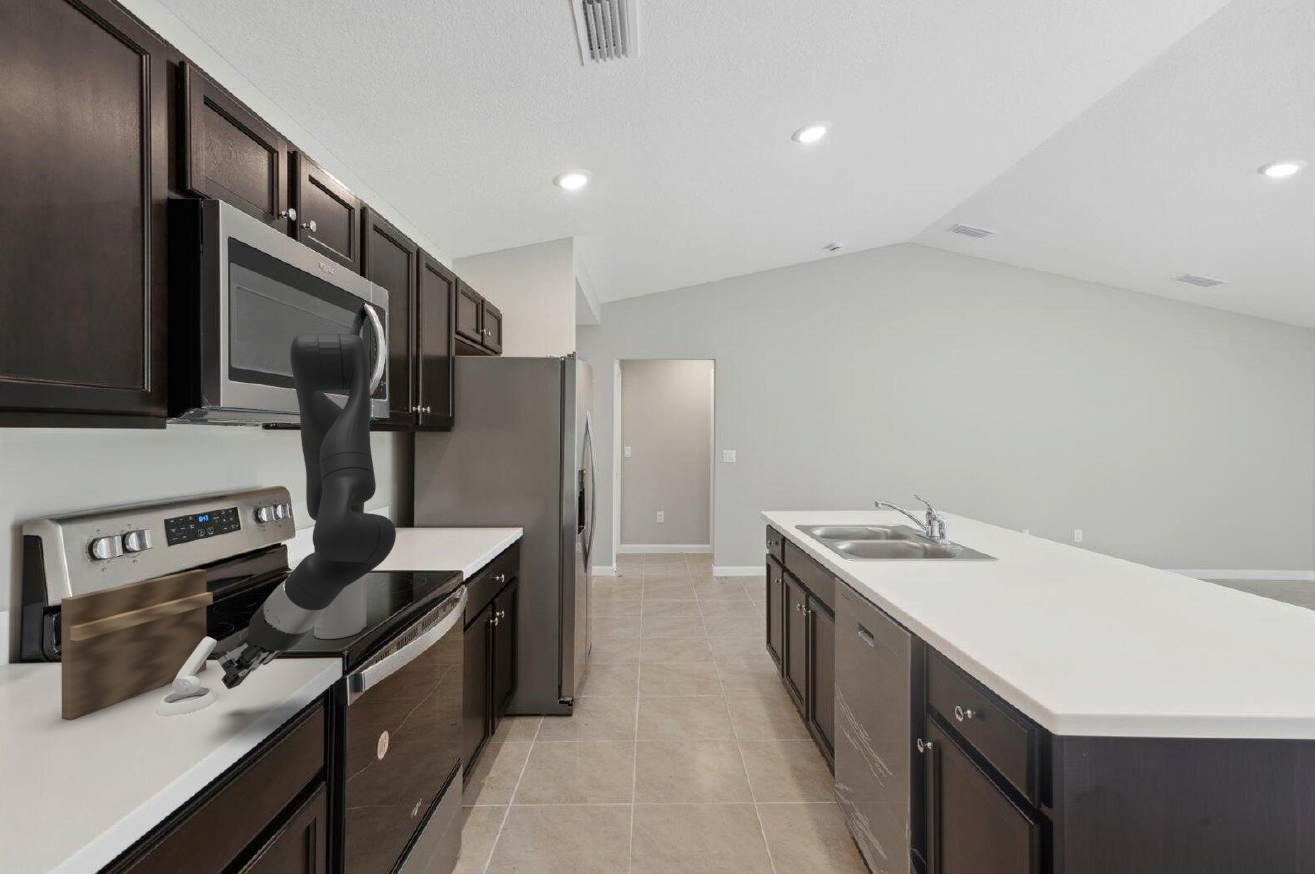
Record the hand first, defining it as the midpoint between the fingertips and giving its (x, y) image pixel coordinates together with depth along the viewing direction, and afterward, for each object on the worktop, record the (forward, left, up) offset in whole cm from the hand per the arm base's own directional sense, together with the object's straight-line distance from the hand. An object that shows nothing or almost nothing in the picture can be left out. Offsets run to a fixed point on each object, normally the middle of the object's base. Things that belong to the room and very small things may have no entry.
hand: (229, 682), depth 92 cm
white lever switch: (0, -9, -5) cm, 10 cm away
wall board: (-1, -21, -5) cm, 21 cm away
